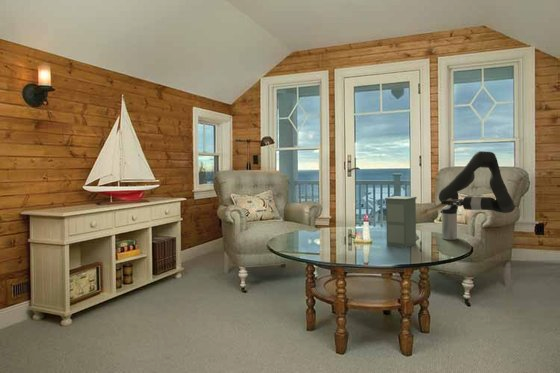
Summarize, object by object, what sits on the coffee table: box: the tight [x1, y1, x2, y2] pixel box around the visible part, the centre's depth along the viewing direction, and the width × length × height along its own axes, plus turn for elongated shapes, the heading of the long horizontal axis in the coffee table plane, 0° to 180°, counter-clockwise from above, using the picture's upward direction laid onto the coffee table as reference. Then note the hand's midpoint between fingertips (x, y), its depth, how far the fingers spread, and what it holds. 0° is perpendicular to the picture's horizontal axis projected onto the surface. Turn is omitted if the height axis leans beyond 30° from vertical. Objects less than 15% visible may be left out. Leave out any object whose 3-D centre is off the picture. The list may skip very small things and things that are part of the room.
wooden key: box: [419, 198, 452, 219], centre depth 245 cm, size 5×20×4 cm, turn 48°
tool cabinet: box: [384, 195, 417, 249], centre depth 261 cm, size 15×14×30 cm
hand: (442, 202), depth 242 cm, fingers closed on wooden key, 3 cm apart
